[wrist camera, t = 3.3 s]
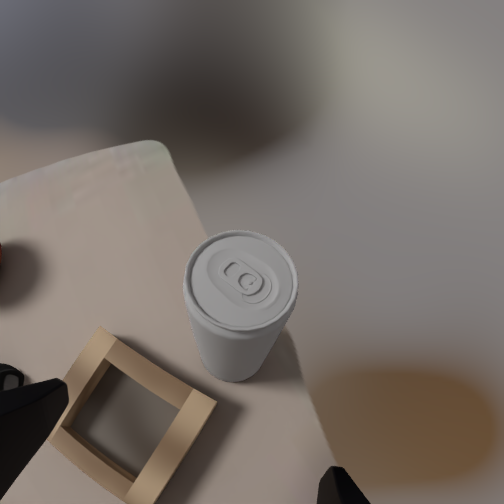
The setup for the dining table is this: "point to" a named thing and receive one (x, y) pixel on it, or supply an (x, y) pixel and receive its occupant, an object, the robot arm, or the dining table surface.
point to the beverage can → (238, 300)
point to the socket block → (127, 420)
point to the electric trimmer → (10, 377)
